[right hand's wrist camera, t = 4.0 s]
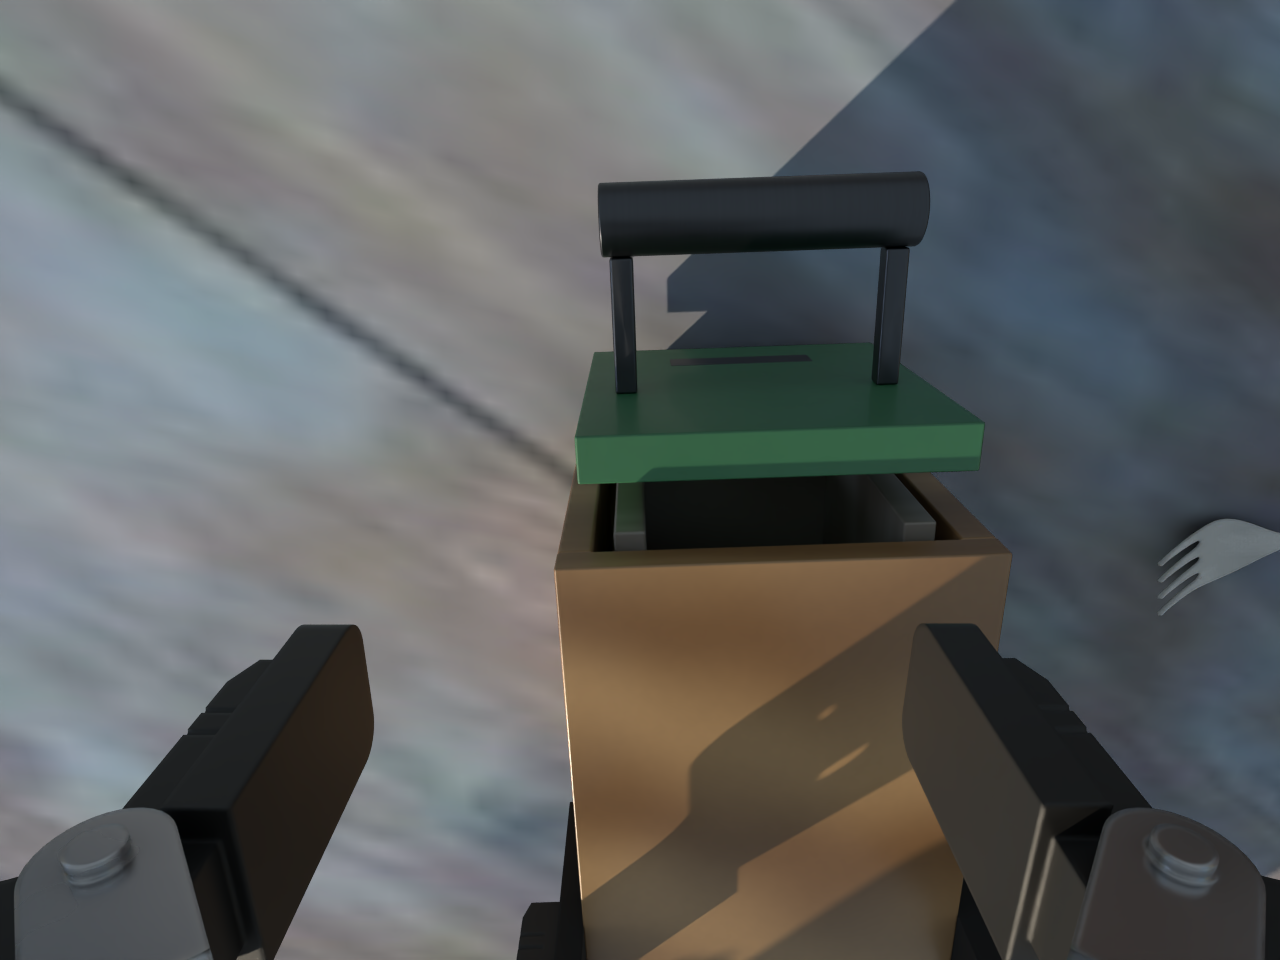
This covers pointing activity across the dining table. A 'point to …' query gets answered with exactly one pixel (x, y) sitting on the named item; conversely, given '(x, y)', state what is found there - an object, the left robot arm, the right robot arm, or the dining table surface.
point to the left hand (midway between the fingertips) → (746, 826)
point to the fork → (1217, 554)
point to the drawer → (766, 380)
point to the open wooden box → (760, 738)
